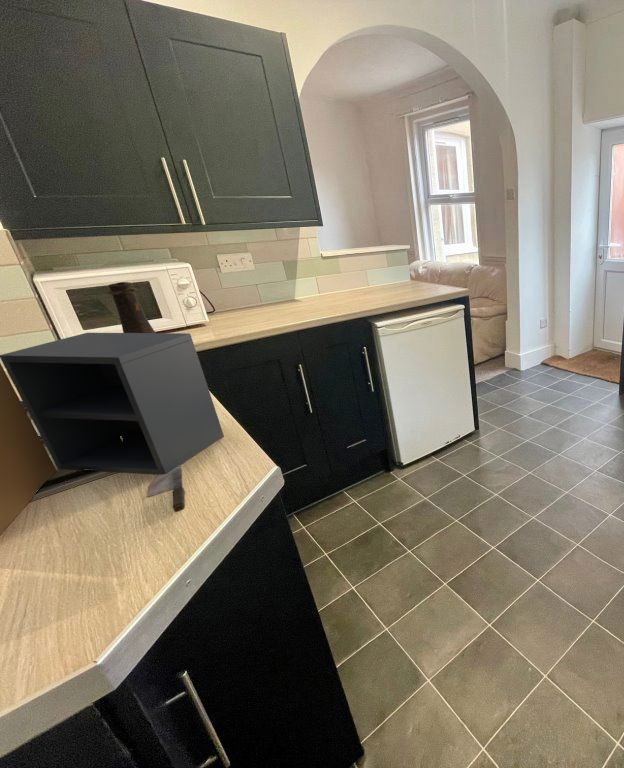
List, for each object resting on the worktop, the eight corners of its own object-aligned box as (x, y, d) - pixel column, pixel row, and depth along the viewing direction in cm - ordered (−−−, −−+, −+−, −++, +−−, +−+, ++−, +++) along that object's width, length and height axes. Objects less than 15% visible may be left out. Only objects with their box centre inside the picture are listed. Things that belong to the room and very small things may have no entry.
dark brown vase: (213, 378, 120) (181, 278, 109) (141, 402, 105) (96, 290, 95) (176, 370, 127) (143, 276, 117) (104, 392, 112) (58, 286, 102)
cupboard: (166, 475, 75) (118, 357, 66) (58, 469, 78) (-2, 355, 69) (224, 436, 88) (190, 333, 79) (130, 432, 90) (87, 332, 82)
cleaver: (148, 472, 75) (182, 462, 78) (150, 477, 76) (184, 467, 78) (143, 517, 63) (183, 503, 66) (145, 523, 63) (185, 509, 66)
